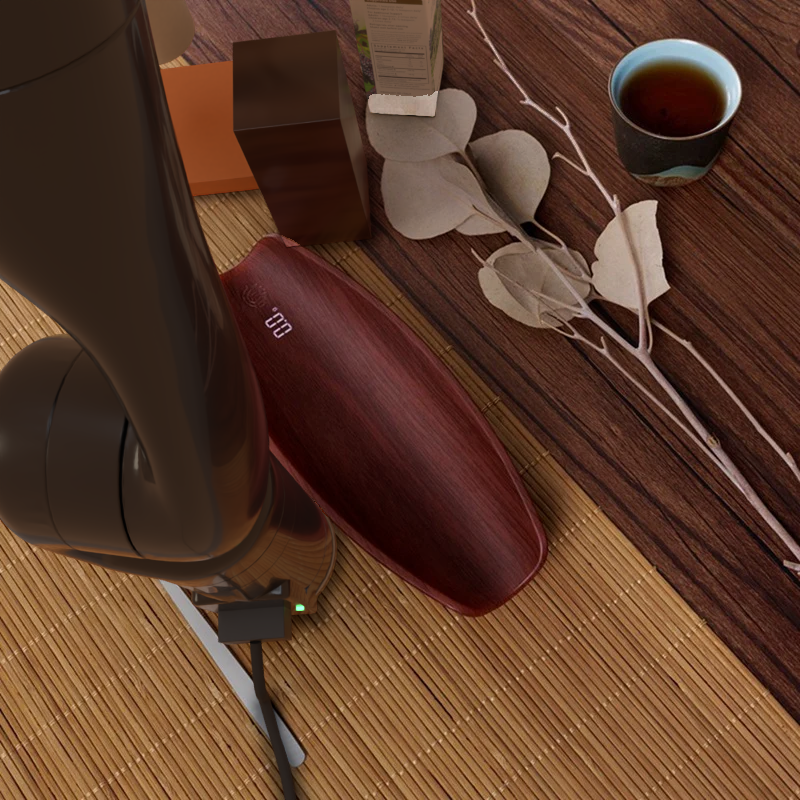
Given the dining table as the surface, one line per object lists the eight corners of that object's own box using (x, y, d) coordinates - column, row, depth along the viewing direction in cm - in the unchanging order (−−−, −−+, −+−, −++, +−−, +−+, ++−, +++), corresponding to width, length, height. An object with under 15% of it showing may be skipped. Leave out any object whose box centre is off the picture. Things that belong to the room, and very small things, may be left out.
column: (371, 239, 74) (340, 118, 59) (285, 247, 75) (232, 131, 59) (367, 163, 76) (335, 29, 61) (283, 172, 77) (232, 42, 62)
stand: (275, 187, 76) (270, 174, 75) (139, 202, 77) (130, 189, 75) (273, 71, 80) (267, 55, 78) (143, 86, 81) (134, 71, 79)
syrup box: (379, 59, 79) (355, -77, 66) (447, 62, 79) (437, -74, 65) (369, 115, 78) (342, -12, 64) (438, 119, 77) (426, -8, 63)
